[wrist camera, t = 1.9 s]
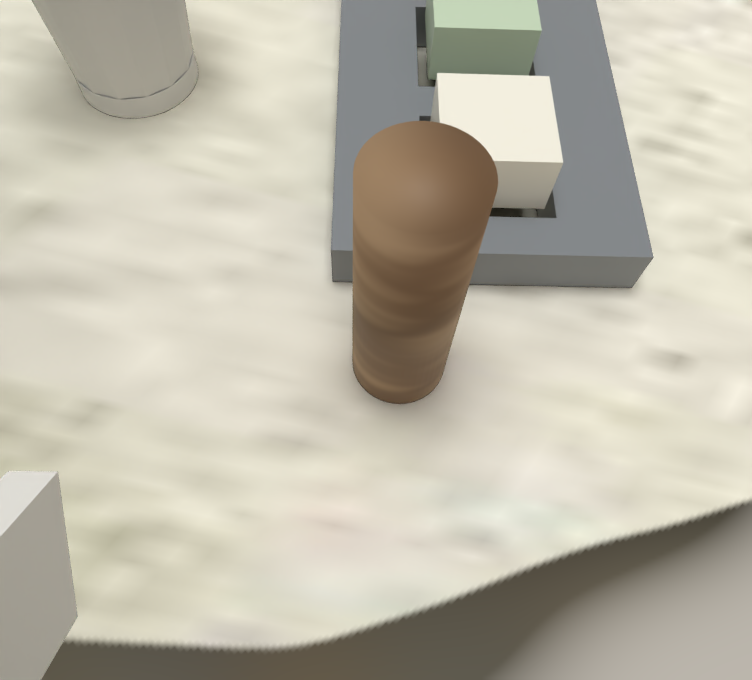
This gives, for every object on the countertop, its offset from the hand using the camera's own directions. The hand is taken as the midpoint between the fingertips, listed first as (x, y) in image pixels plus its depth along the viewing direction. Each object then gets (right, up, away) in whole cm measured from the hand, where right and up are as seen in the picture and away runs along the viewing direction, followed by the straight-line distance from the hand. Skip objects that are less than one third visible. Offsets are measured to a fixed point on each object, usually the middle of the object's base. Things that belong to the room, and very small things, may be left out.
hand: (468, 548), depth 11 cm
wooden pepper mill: (-1, +2, +18) cm, 18 cm away
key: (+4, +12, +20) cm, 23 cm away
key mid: (+4, +19, +24) cm, 30 cm away
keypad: (+4, +18, +26) cm, 32 cm away
